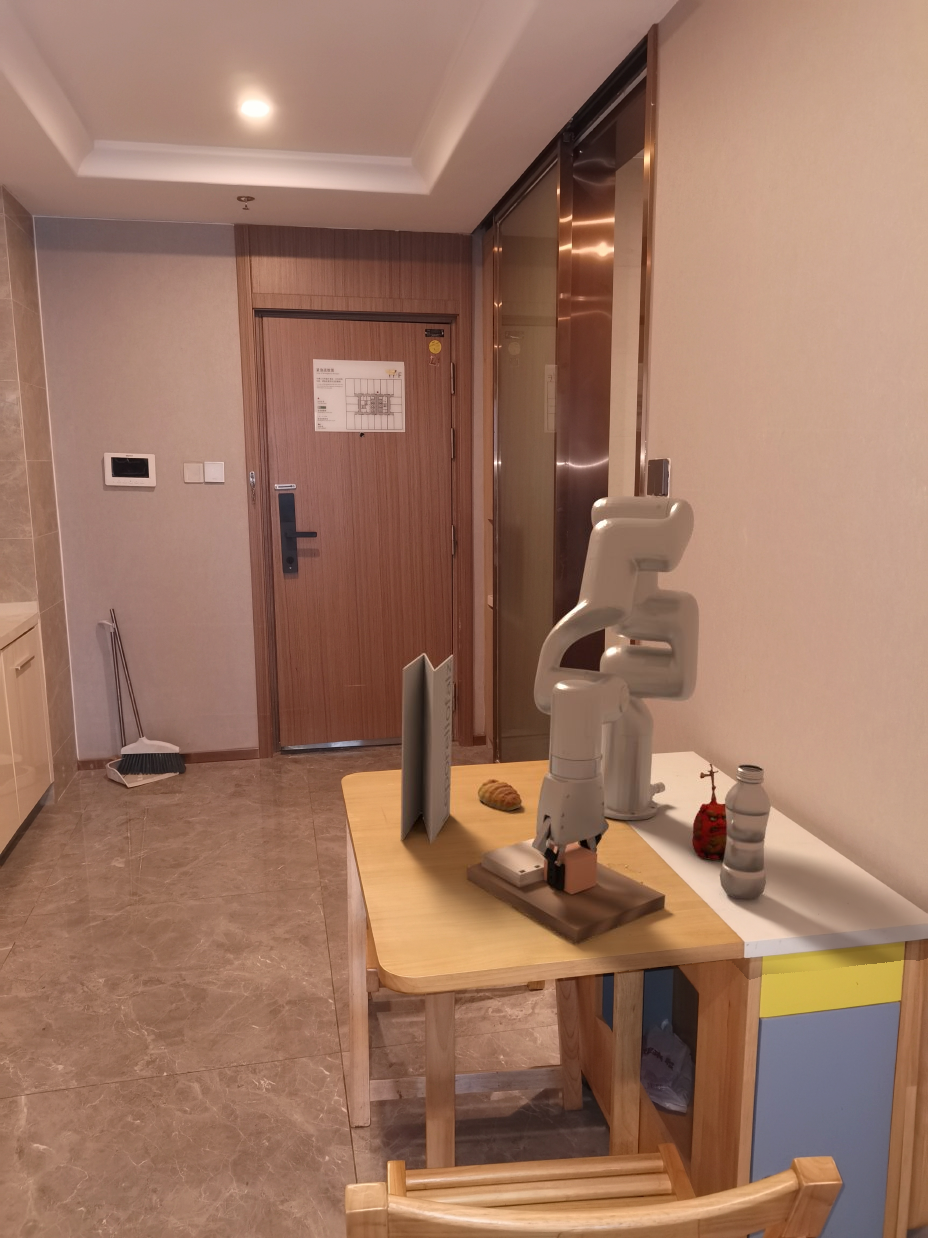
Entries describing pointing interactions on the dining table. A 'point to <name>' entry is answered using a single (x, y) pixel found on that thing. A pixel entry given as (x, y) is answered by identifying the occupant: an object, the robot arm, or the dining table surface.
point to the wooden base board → (563, 893)
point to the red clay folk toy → (710, 827)
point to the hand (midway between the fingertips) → (569, 881)
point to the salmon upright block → (577, 868)
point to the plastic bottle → (745, 835)
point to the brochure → (426, 744)
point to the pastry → (499, 795)
